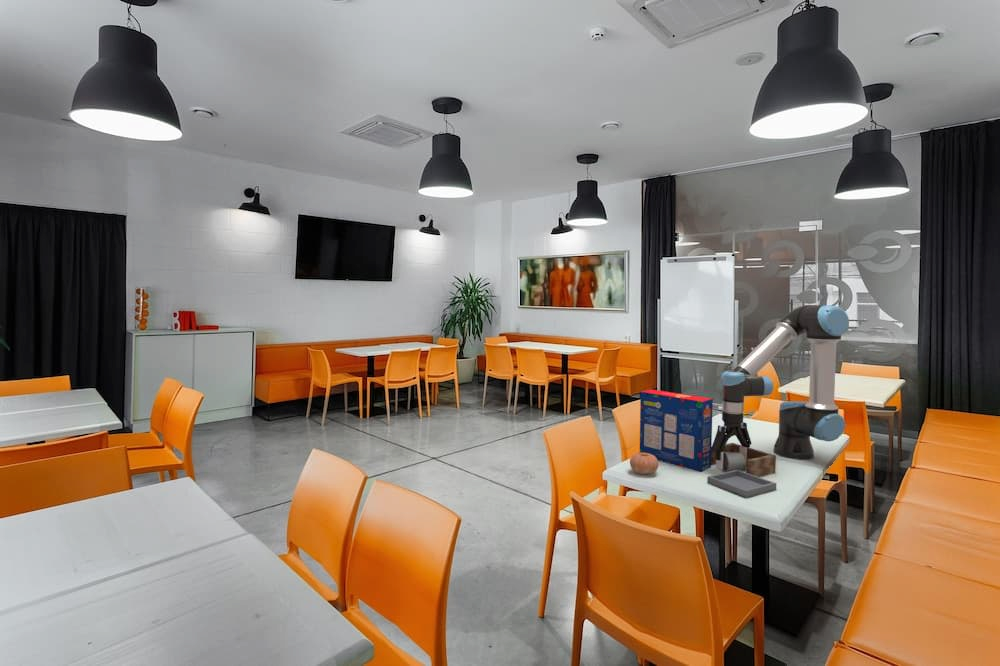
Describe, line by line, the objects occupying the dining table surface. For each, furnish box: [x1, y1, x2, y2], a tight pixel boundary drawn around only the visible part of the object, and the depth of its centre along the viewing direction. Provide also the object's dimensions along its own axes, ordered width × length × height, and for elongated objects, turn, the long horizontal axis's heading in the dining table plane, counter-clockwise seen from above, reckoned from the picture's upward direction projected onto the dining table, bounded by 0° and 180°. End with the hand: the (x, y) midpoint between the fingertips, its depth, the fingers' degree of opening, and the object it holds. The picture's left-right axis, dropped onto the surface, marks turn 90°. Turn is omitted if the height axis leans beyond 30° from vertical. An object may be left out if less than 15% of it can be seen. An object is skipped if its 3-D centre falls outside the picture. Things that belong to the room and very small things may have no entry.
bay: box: [711, 442, 777, 478], centre depth 202 cm, size 15×20×7 cm
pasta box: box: [639, 389, 714, 473], centre depth 211 cm, size 28×8×28 cm, turn 40°
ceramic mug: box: [720, 452, 747, 473], centre depth 201 cm, size 11×8×8 cm
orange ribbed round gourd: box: [629, 452, 659, 476], centre depth 198 cm, size 11×11×8 cm
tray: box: [706, 470, 777, 499], centre depth 183 cm, size 16×16×2 cm
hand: (731, 465), depth 200 cm, fingers open, 13 cm apart
